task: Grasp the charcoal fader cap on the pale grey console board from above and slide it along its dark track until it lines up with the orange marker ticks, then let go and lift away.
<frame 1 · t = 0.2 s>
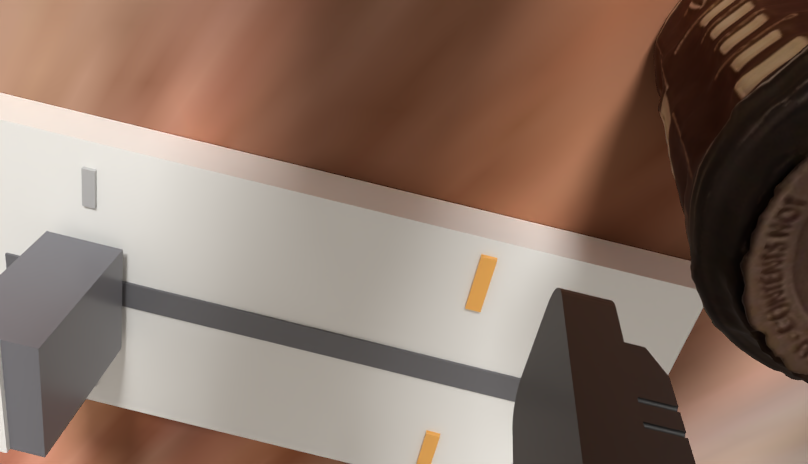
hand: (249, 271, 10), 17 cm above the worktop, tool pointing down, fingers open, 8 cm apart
console board: (318, 308, 32), on the worktop
fader cap: (44, 340, 28), point 6 cm above the worktop, slide at -9.0 cm
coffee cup: (750, 52, 25), on the worktop
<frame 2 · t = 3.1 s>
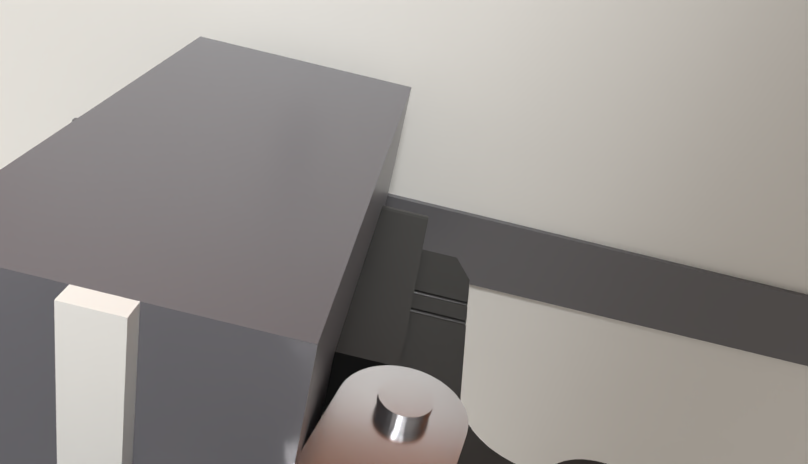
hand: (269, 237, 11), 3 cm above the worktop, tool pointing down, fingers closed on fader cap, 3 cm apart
console board: (795, 272, 14), on the worktop
fader cap: (215, 335, 9), point 6 cm above the worktop, slide at -9.0 cm, touching gripper
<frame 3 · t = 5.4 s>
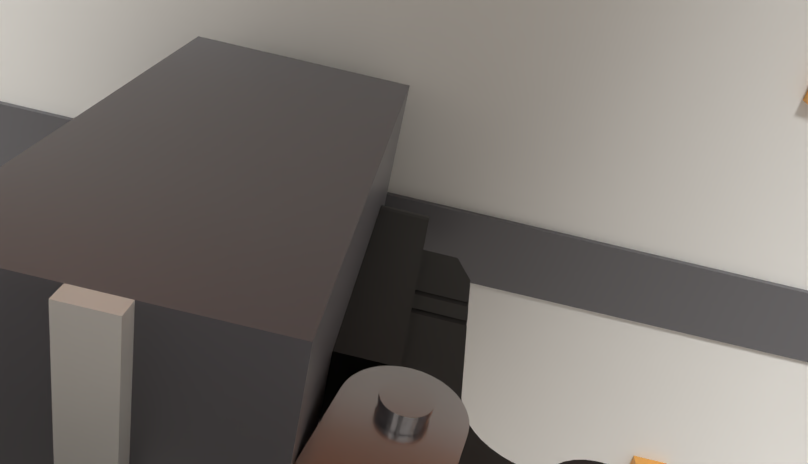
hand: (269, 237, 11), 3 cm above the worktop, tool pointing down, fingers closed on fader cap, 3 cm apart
console board: (375, 170, 14), on the worktop
fader cap: (213, 335, 9), point 6 cm above the worktop, slide at -1.1 cm, touching gripper
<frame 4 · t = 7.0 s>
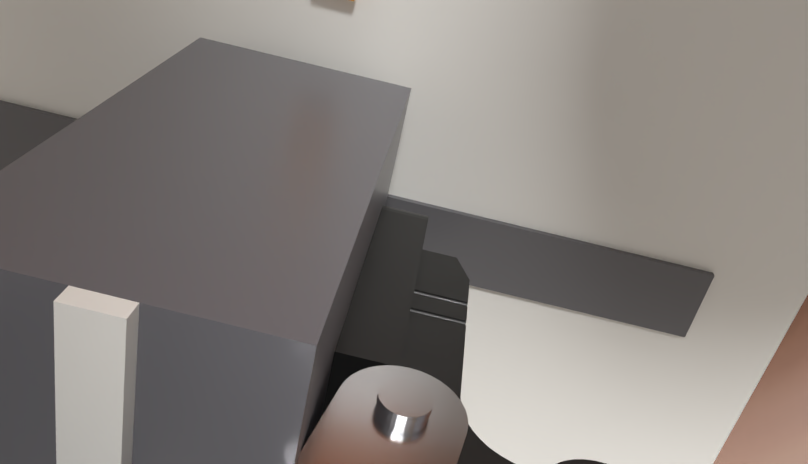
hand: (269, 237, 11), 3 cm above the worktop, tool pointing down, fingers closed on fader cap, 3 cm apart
console board: (8, 83, 14), on the worktop
fader cap: (214, 336, 9), point 6 cm above the worktop, slide at 5.8 cm, touching gripper
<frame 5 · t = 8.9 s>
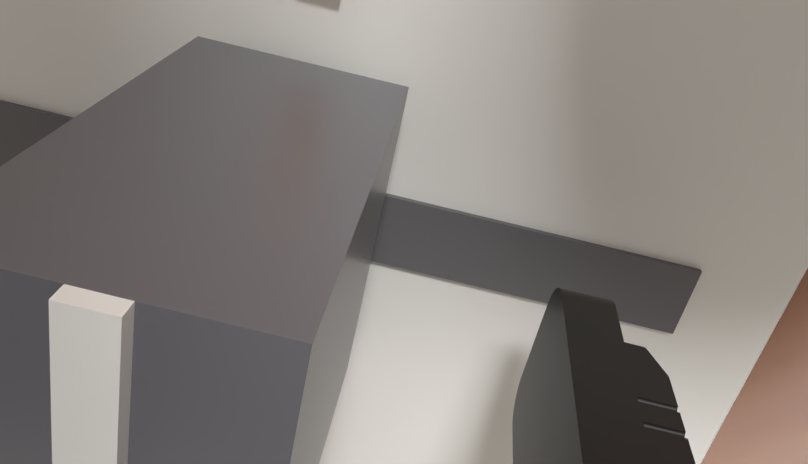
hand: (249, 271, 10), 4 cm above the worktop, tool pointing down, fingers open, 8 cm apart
fader cap: (211, 335, 9), point 6 cm above the worktop, slide at 6.0 cm
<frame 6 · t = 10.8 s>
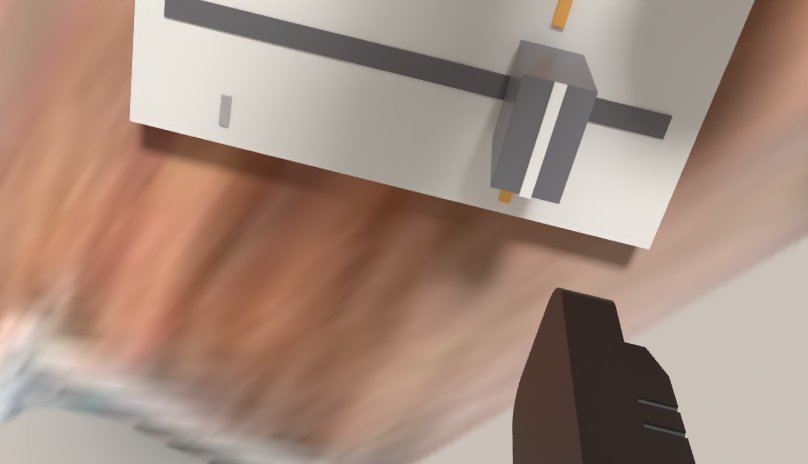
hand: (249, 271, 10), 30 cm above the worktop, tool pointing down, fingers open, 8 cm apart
console board: (419, 55, 38), on the worktop
fader cap: (539, 118, 33), point 6 cm above the worktop, slide at 6.0 cm
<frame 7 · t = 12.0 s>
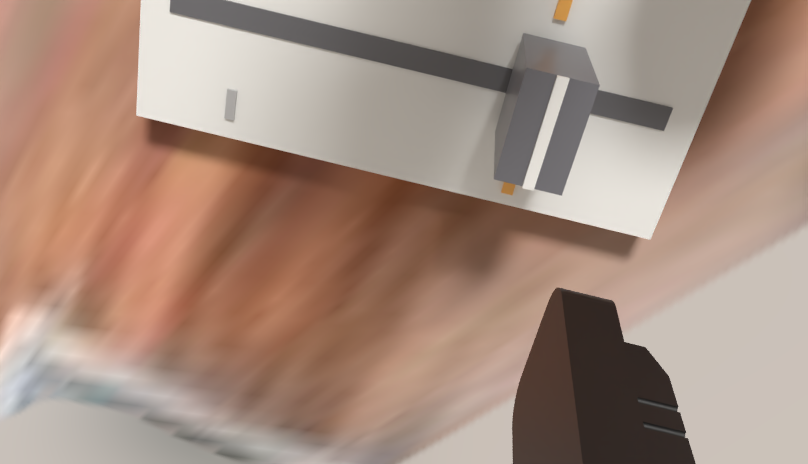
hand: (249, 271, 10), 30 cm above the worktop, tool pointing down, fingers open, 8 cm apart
console board: (423, 48, 39), on the worktop
fader cap: (541, 111, 34), point 6 cm above the worktop, slide at 6.0 cm
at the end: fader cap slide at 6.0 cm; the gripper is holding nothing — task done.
